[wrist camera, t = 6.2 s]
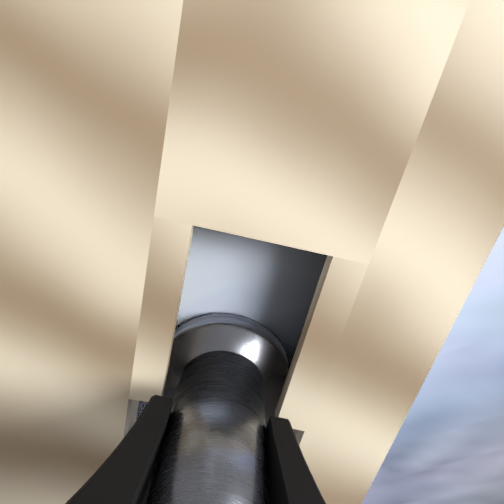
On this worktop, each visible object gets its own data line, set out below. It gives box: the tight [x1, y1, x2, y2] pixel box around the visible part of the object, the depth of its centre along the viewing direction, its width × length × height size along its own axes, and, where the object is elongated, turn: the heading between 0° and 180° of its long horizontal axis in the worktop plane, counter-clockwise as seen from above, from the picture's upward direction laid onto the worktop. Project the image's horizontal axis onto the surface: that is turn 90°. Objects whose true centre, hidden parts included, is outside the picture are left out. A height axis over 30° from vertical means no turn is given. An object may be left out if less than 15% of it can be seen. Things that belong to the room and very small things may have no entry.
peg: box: [145, 314, 289, 504], centre depth 11 cm, size 5×5×8 cm
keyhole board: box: [0, 0, 504, 504], centre depth 13 cm, size 22×18×2 cm
